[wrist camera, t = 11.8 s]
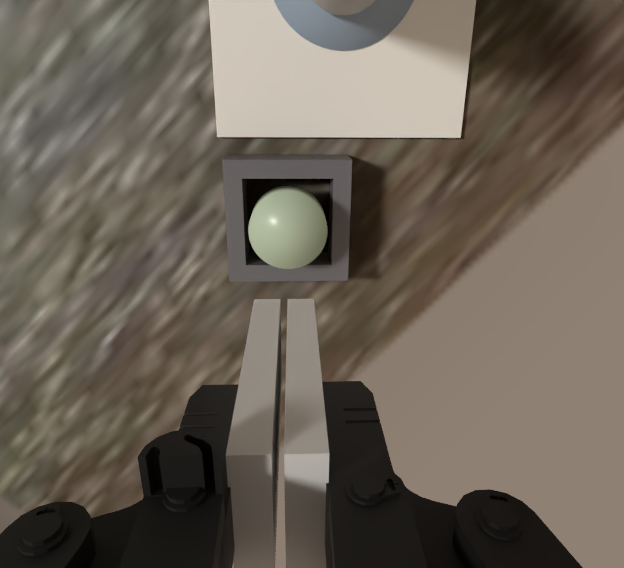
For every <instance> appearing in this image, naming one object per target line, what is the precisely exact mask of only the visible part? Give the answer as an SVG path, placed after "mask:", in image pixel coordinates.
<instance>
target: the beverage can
mask: <svg viewBox="0 0 624 568" xmlns="http://www.w3.org/2000/svg"><path fill="white" fill-rule="evenodd" d="M374 1H375V0H313V2H314V3H315V4H316V5H318V6H319V7H320V8H321V9H323V10H324V11H326V12H329V13H332V14H335V15H352V14H355V13H359V12H361V11H363V10H364V9H366V8H367V7H369V6H370V5H371V4H372V3H373V2H374Z"/></svg>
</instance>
